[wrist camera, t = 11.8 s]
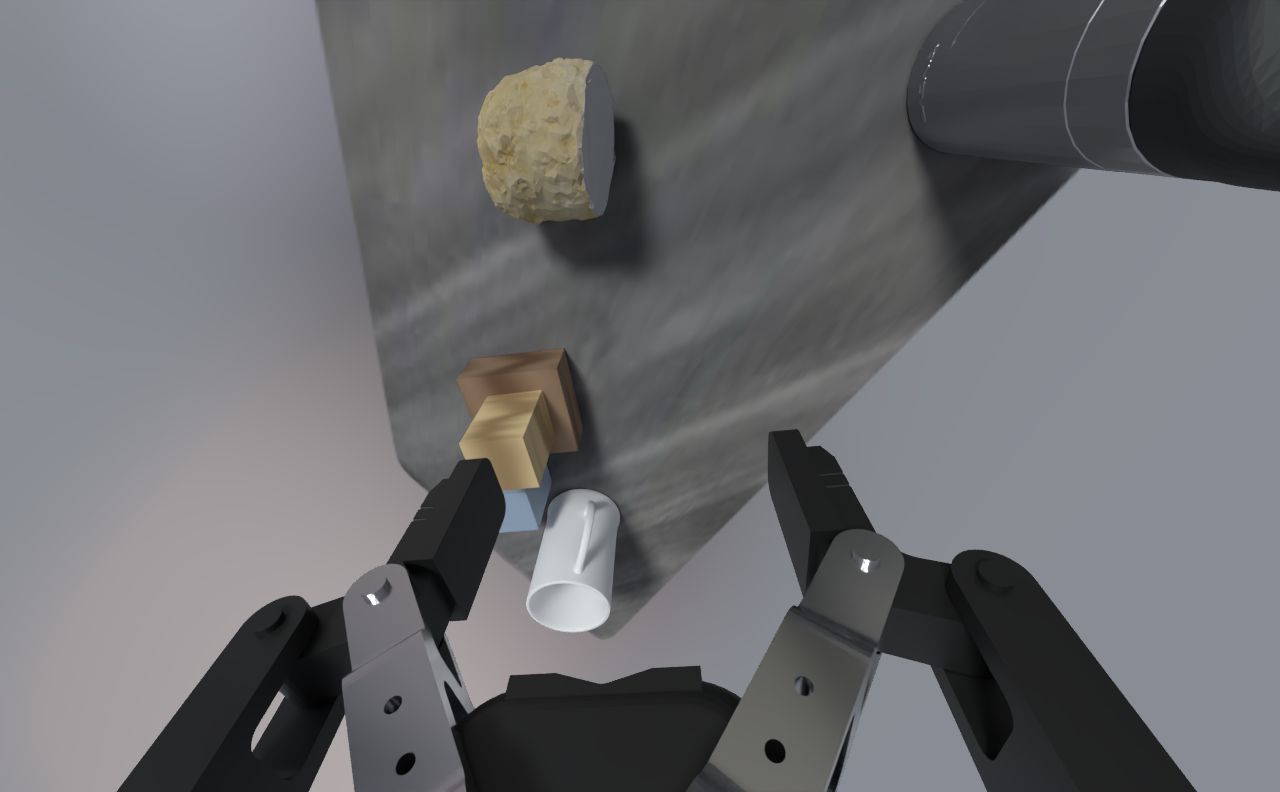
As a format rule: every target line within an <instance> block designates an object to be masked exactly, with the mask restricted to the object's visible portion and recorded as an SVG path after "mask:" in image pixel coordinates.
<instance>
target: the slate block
mask: <svg viewBox="0 0 1280 792" xmlns="http://www.w3.org/2000/svg"><path fill="white" fill-rule="evenodd" d="M551 484H552V480H551V477H550V473H549V470H548V467H547V464H546V467H545V471H544V474H543V477H542V480H541V484H540V487H536V488H525V489H514V490H503V494H504V497H505V502H506V512H505V517H504V520H503V523H502V526H501V528H500V531H499V533H502V532H514V531H527V530H539V527H540V524H541V520H542V516H543V513H544V509H545V505H546V502H547V498H548V495H549V491H550V487H551Z"/></svg>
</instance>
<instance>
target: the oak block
mask: <svg viewBox="0 0 1280 792" xmlns="http://www.w3.org/2000/svg"><path fill="white" fill-rule="evenodd" d="M554 438H555V433H554V430H553V426H552V423H551V420H550V416H549V413H548V409H547V406H546V402H545V399H544V395H543V392H542V390H538V391H529V392H520V393H511V394H502V395H493V396H487V398H486V399H485V401H484V403H483V404H482V406H481V408H480V409H479V411H478V413H477V415H476V416H475V418H474V420H473V421H472V423H471V425H470V426H469V428H468V430H467V431H466V433H465V435H464V436H463V438H462V440H461V441H460V443H459V445H460V448H461V450H462V452H463V455H464V457H465V459H466V460H468V459H478V458H488V459H489V460H490V461H491V463H492V466H493V468H494V471H495V474H496V476H497V479H498V481H499V484H500V486H501V489H502V491H503V490H514V489H525V488H536V487H540V484H541V480H542V477H543V474H544V471H545V467H546V464H547V461H548V457H549V454H550V451H551V448H552V444H553V441H554Z"/></svg>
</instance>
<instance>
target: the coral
mask: <svg viewBox="0 0 1280 792" xmlns="http://www.w3.org/2000/svg"><path fill="white" fill-rule="evenodd" d="M478 123H479V125H478V128H477V130H478V135H479V136H478V139H477V144H478V149H479V154H480V157H481V159H482V163H483V168H482V173H483V179H484V182H485V186H486V189H487V190H488V192H489V194H490V196H491V197H492V200H493V201H494V203H495V206H496V207H497V208H499V209H501V210H502V211H503V212H504V213H507V214H509V215H511V216H513V217H515V218H517V219H523V220H525V221H527V222H531V223H535V224H541V223H542V222H543V221H549V220H552V221H556V222H558V221H567V220H572V219H577V220H582V221H583V220H586V219H591V218H597V217H599V216H602V215H603V213H604V211H605V209H606V206H607V202H608V196H609V190H610V184H611V179H612V175H613V169H614V164H615V161H616V156H615V151H614V143H615V140H614V114H613V97H612V94H611V91H610V87H609V84H608V80H607V76H606V72H605V71H604V70H603V68H602V67H601V66H600V65H598V64H595V63H594V62H593V61H589V60H585V61H584V60H583V59H578V58H576V59H568V58H566V59H565V60H564V59H562V58H556V59H554V60H553V61H552V62H551V63H550V62H547V63H546V64H545V65H542V66H538V65H535V66H533V67H531V68H529V69H526V70H524V71H522V72H520V73H517V74H514V75H510V76H505V77H504V78H503V79H502V80H501V82H500V83H499V84H498V85H497V86H496V87H495V89H494V90H492V91H490V92H489V93H488V95H487V96H486V99H485V101H484V104H483V107H482V109H481V111H480V115H479V117H478Z"/></svg>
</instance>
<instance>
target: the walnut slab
mask: <svg viewBox="0 0 1280 792" xmlns="http://www.w3.org/2000/svg"><path fill="white" fill-rule="evenodd" d="M456 380H457V383H458V385H459V388H460V391H461V393H462V396H463V398H464V401H465V403H466V406H467V408H468V411H469V413H470V416H471V418H472V421H473V420H474V418H475V416H476V415H477V413H478V411H479V409H480V408H481V406H482V404H483V403H484V401H485V399H486V398H487V396H493V395H502V394H511V393H520V392H529V391H538V390H542V392H543V395H544V399H545V402H546V406H547V409H548V413H549V416H550V420H551V423H552V426H553V430H554V433H555V438H554V441H553V444H552V448H551V451H550V454H552V453H563V452H574V451H578V449H579V444H580V440H581V435H582V431H583V423H582V419H581V415H580V411H579V407H578V403H577V399H576V395H575V390H574V386H573V382H572V378H571V374H570V370H569V366H568V361H567V357H566V353H565V349H555V350H546V351H537V352H529V353H520V354H511V355H502V356H494V357H485V358H476V359H471V361H470V362H469V363H468V365H467V366H466V367H465V369H464V370H463V371H462V373H461V374H460V375H459V377H458V378H457V379H456Z"/></svg>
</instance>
